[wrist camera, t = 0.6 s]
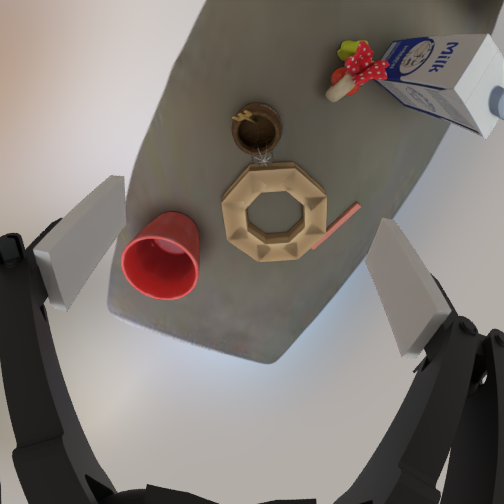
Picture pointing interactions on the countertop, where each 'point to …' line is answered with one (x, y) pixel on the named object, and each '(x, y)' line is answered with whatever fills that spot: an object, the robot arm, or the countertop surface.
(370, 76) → the bird rattle
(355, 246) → the countertop surface
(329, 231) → the pink stick
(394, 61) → the milk carton
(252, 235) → the octagonal ring
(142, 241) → the flower pot
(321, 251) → the countertop surface
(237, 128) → the utensil holder
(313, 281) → the countertop surface
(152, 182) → the countertop surface
